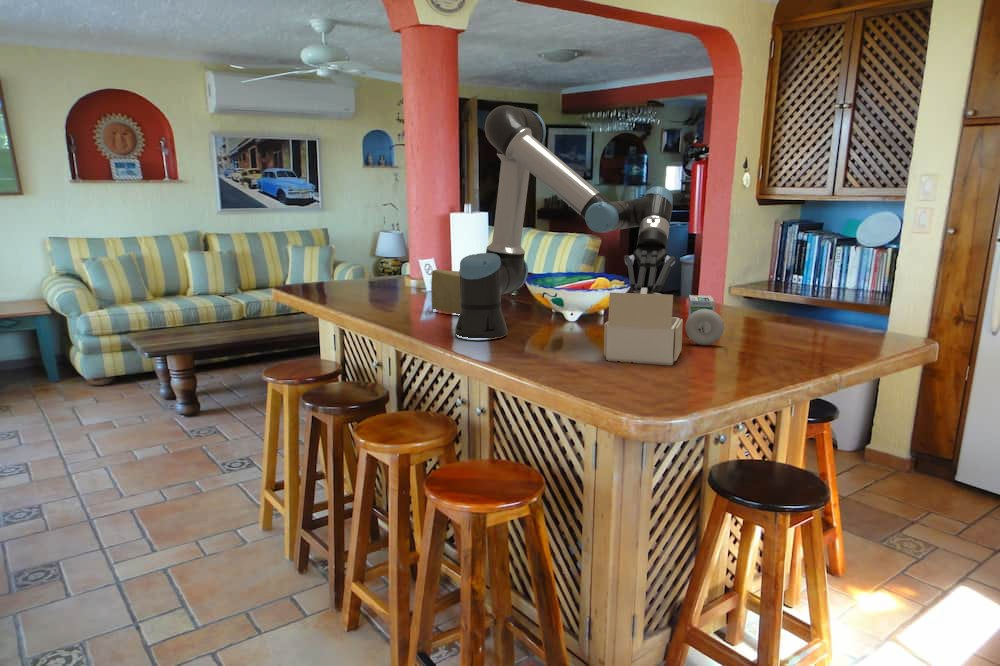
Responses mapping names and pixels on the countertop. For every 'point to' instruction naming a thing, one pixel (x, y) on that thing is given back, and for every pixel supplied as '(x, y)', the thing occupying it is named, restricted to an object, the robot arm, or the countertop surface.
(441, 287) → the brown box
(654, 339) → the carton
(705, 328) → the light bulb box
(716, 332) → the donut
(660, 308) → the flap
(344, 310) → the countertop surface
